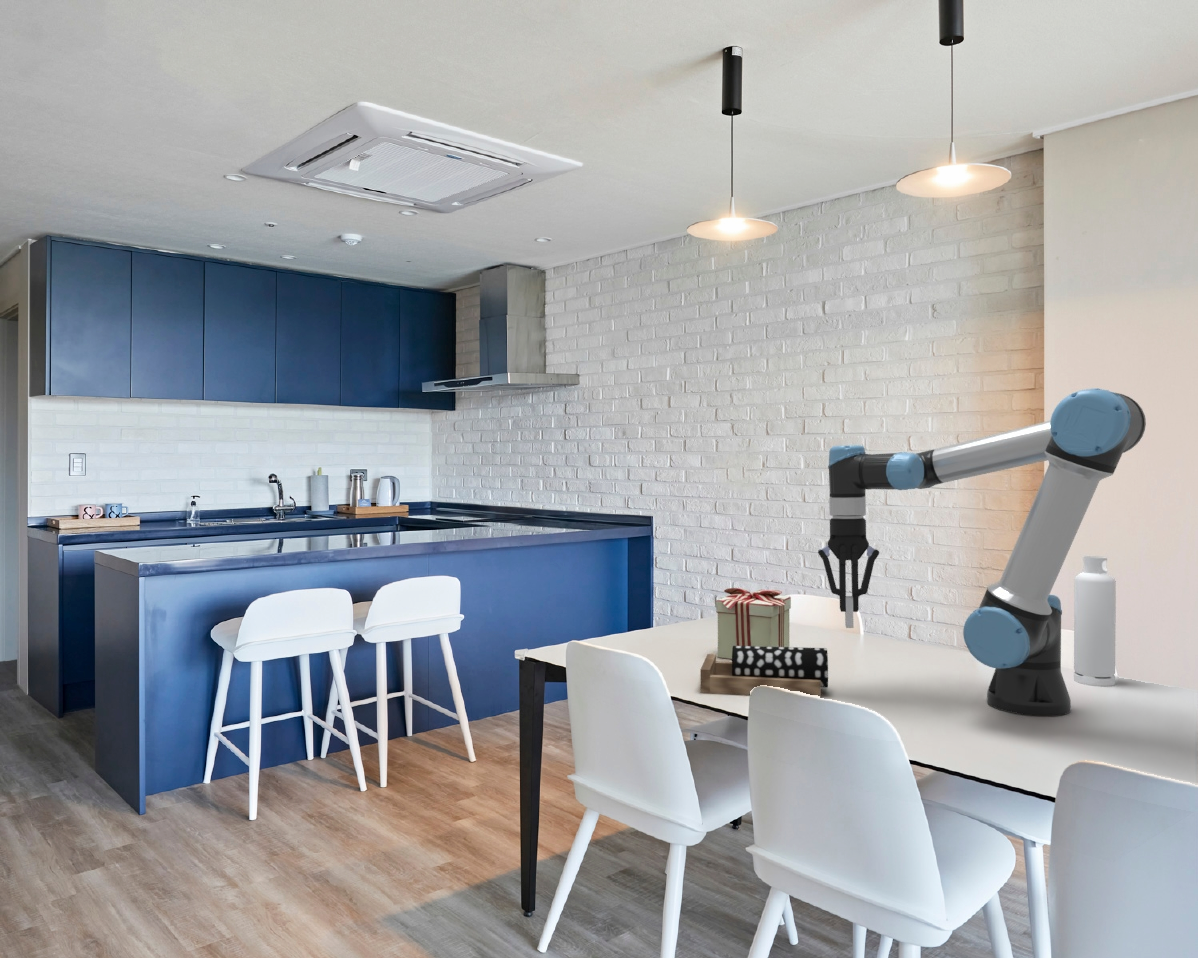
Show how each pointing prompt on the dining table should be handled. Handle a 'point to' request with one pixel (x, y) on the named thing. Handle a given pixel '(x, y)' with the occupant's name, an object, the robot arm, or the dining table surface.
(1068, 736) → the dining table surface
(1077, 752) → the dining table surface
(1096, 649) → the bottle
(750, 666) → the spotted tube
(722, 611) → the gift box
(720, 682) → the cradle
